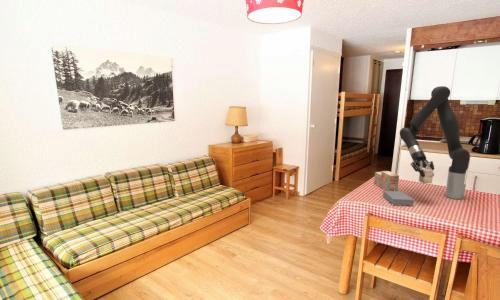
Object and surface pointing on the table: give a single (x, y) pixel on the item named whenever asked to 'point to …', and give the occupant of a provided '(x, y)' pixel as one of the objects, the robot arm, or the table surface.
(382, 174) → the stack of blocks
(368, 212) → the table surface
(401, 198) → the slate plinth
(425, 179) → the birch block
